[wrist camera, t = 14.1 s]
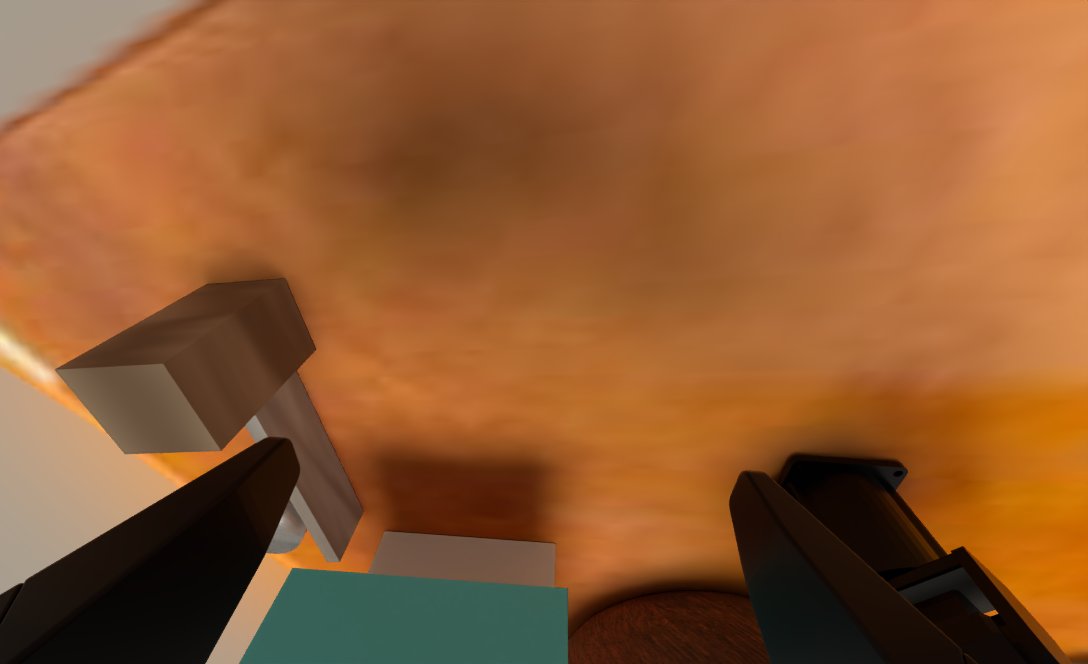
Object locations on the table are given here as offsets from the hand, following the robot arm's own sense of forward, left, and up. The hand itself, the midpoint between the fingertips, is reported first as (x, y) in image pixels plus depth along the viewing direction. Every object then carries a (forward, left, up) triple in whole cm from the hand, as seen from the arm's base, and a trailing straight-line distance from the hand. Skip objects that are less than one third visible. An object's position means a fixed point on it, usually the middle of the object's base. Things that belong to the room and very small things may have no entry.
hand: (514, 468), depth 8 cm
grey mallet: (+13, +11, -12) cm, 20 cm away
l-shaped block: (+4, +20, -12) cm, 24 cm away
